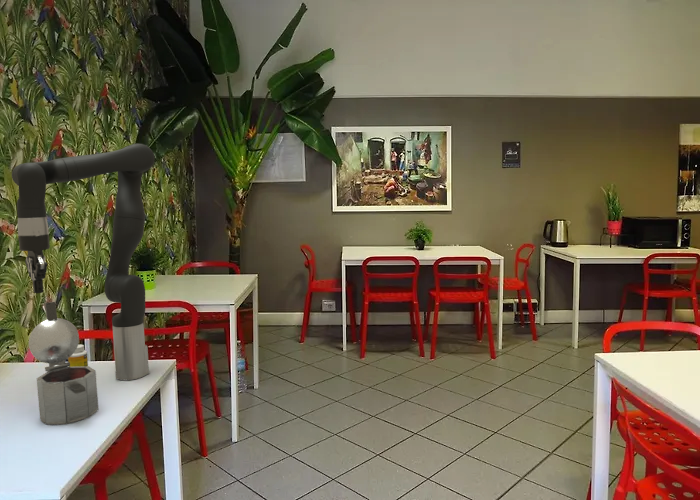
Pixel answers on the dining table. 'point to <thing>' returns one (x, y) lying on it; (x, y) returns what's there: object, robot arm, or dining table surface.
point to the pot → (67, 395)
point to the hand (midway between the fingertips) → (38, 292)
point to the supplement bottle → (78, 357)
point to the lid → (53, 339)
